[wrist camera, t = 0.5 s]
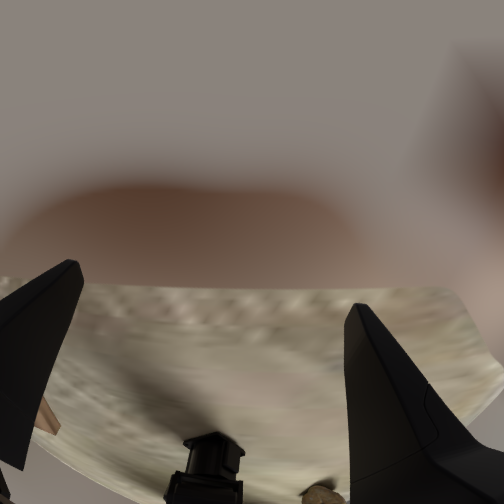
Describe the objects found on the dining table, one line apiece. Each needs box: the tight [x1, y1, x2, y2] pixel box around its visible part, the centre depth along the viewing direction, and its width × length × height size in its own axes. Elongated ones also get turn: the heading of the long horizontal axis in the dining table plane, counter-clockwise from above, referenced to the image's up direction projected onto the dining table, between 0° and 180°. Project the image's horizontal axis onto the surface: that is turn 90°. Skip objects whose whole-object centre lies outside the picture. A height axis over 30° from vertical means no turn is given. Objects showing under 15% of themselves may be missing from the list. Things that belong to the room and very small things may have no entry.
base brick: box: [34, 397, 61, 436], centre depth 35 cm, size 9×9×2 cm
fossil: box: [302, 486, 347, 504], centre depth 38 cm, size 9×4×10 cm
